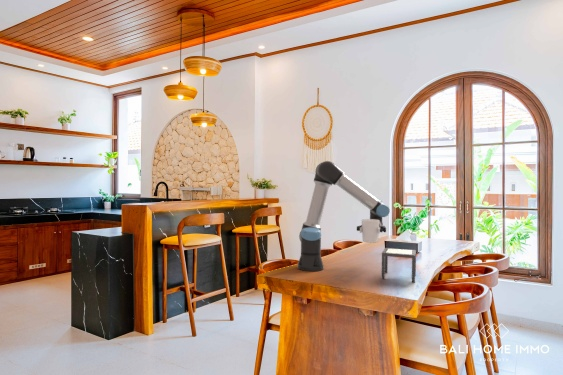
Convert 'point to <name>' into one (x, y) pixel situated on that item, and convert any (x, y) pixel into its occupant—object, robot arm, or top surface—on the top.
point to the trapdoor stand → (385, 256)
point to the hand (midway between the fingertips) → (369, 230)
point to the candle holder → (370, 230)
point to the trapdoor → (399, 251)
